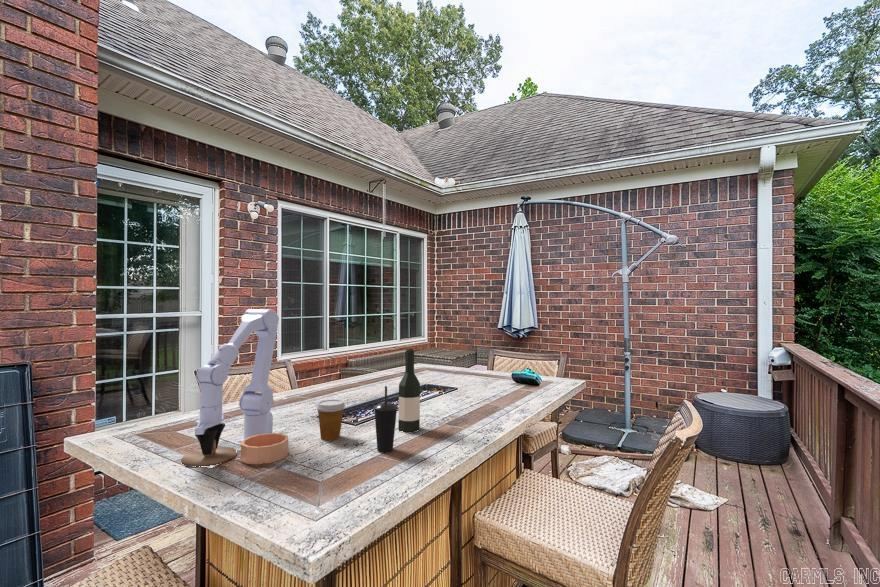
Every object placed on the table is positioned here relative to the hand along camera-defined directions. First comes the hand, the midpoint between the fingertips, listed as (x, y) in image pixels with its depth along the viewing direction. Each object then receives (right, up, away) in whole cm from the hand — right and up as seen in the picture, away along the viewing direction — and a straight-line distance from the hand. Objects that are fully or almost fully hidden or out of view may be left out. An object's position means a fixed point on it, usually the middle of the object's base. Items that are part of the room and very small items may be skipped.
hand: (209, 452), depth 116 cm
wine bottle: (+56, -4, +30) cm, 64 cm away
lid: (0, -2, 0) cm, 2 cm away
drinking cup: (+51, -3, +8) cm, 51 cm away
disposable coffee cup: (+30, -3, +20) cm, 36 cm away
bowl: (+15, -2, +2) cm, 16 cm away
